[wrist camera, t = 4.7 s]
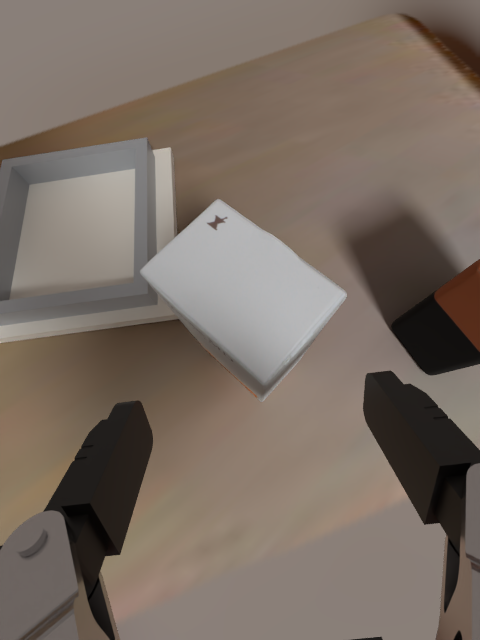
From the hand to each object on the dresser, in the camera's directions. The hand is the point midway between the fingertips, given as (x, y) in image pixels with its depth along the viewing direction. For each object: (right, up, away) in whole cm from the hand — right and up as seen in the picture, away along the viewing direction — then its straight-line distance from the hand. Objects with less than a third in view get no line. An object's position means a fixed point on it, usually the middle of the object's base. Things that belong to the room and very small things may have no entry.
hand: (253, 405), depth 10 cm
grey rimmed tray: (-14, +10, +15) cm, 23 cm away
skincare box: (0, 0, +11) cm, 11 cm away
